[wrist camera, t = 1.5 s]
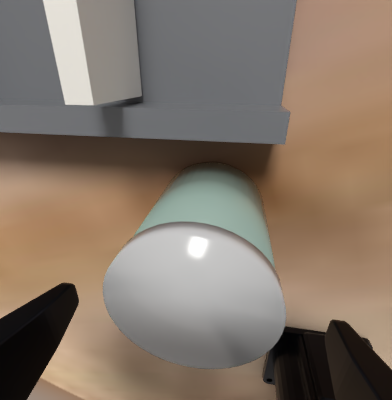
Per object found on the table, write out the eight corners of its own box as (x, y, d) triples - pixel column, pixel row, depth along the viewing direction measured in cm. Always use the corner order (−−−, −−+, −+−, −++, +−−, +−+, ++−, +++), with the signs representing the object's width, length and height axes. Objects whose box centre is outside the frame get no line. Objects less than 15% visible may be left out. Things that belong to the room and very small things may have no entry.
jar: (258, 257, 16) (271, 381, 9) (163, 247, 17) (115, 354, 10) (272, 163, 13) (303, 247, 7) (158, 157, 14) (87, 226, 7)
